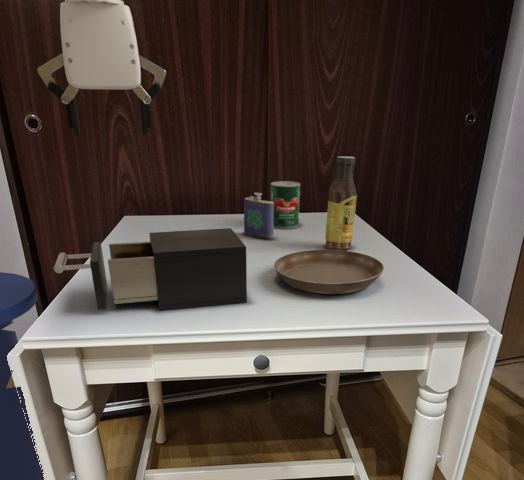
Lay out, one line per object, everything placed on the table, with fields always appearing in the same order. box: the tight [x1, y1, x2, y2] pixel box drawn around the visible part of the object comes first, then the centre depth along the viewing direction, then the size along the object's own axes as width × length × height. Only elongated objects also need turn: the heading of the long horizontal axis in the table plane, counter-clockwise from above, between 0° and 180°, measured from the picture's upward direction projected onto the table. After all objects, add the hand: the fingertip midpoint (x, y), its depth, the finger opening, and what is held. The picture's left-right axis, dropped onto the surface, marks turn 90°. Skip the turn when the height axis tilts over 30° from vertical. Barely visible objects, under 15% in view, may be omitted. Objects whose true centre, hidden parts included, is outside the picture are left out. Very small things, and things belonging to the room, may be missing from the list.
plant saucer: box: [273, 249, 385, 295], centre depth 92 cm, size 21×21×3 cm
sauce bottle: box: [325, 155, 358, 251], centre depth 109 cm, size 7×6×20 cm
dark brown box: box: [149, 227, 248, 312], centre depth 84 cm, size 15×13×10 cm
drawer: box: [53, 240, 158, 310], centre depth 81 cm, size 19×12×8 cm, turn 105°
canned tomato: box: [270, 180, 301, 229], centre depth 130 cm, size 8×8×11 cm
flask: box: [243, 192, 275, 241], centre depth 119 cm, size 9×3×11 cm, turn 49°
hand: (111, 134), depth 72 cm, fingers open, 9 cm apart
